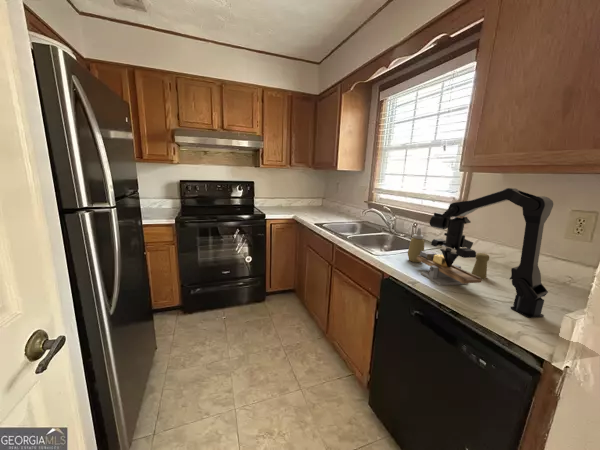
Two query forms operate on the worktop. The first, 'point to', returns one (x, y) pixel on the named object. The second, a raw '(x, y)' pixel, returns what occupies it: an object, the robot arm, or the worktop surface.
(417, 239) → the squeeze bottle
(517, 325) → the worktop surface
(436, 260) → the block
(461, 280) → the balance beam
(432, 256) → the counterweight
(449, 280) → the pivot stand
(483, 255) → the cork
